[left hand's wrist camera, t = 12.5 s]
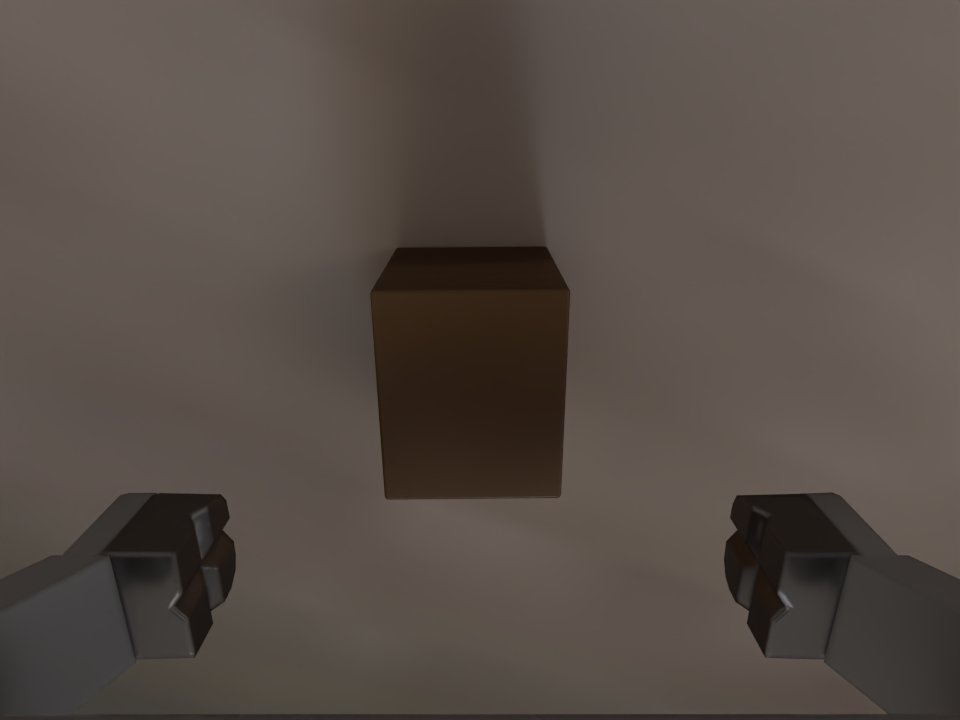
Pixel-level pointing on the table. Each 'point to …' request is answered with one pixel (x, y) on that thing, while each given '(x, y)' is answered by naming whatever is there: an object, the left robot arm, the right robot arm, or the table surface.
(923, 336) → the table surface
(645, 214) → the table surface
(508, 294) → the brick
